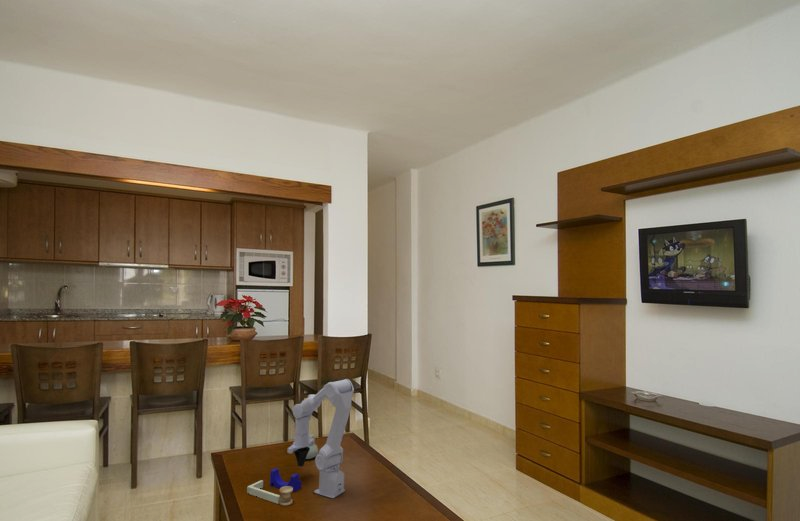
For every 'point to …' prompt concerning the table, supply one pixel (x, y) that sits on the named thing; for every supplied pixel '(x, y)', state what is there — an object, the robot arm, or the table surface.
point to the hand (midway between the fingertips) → (300, 465)
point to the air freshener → (312, 449)
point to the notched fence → (262, 492)
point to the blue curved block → (278, 482)
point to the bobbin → (286, 495)
